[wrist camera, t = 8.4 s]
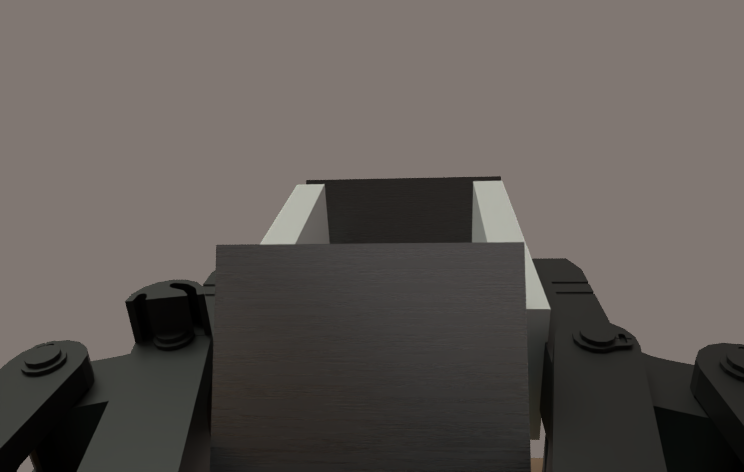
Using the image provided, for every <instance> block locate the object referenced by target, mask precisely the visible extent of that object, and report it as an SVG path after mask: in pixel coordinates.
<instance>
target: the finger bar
mask: <svg viewBox="0 0 744 472" xmlns="http://www.w3.org/2000/svg"><path fill="white" fill-rule="evenodd" d="M473 181H501V177H500V176H499V177H451V178H450V177H449V178H402V179H401V178H400V179H352V180H351V179H350V180H307V181H306V185H308V184H325V195H326V207H327V219H328V230H329V242H330V244H261V245H217V247H216V277H215V311H214V344H213V378H212V412H211V445H210V472H531V457H530V421H529V386H528V351H527V316H526V281H525V245H524V242H480V243H472V213H473Z"/></svg>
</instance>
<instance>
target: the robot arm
mask: <svg viewBox="0 0 744 472" xmlns="http://www.w3.org/2000/svg"><path fill="white" fill-rule="evenodd" d="M480 242H524V245H525V281H526V316H527V351H528V386H529V421H530V440H531V439H532V440H539V438H540V426H541V418H542V422H543V425H544V429H545V433H546V436H545V447H544V458H543V468H542V472H744V345H742V344H728V343H720V344H713V345H708V346H706V347H704V348H703V349H701V350H699V352H698V355H697V357H696V360H695V365H691V364H685V363H680V362H675V361H669V360H665V359H661V358H657V357H653V356H650V355H647V354H645V353H642V352H641V348H640V345H639V343H638V341H637V340H636V338H635V337H634V336H633V335H632V334H630V333H629V332H628V331H626V330H625V329H623V328H621V327H618V326H616V325H614V324H611V323H610V322H609V320H608V318H607V316H606V314H605V313H604V311H603V309H602V307H601V305H600V303H599V301H598V300H597V298H596V296H595V294H593V290H592V288H591V286H590V285H589V284H588V281H587V279H586V277H585V275H584V273H583V271H582V270H581V269H580V268H579V267H577V266H576V265H574V264H573V263H571V262H570V261H569V260H567V259H532V258H531V256H530V253H529V250H528V248H527V245H526V243H525V240H524V237H523V235H522V232H521V229H520V227H519V224H518V222H517V219H516V216H515V214H514V211H513V208H512V205H511V203H510V200H509V198H508V195H507V192H506V190H505V187H504V184H503V182H502V181H473V213H472V243H480ZM261 244H330V242H329V230H328V219H327V207H326V195H325V184H308V185H297V186H296V188H295V189H294V191H293V192H292V194H291V196H290V197H289V199H288V200H287V202H286V204H285V205H284V207H283V208H282V210H281V211H280V213H279V215H278V216H277V218H276V219H275V221H274V223H273V224H272V226H271V227H270V229H269V231H268V232H267V234H266V235H265V237H264V239H263V240H262V242H261V243H260V245H261ZM215 277H216V270H215V271H214V272H212V273H211V275H210V276H209V277H208V279H207V280H206V281H205V283H204V284H203V286H201V285H200V284H199V283H197V282H194V281H189V280H169V281H164V282H158V283H155V284H152V285H149V286H146V287H144V288H142V289H140V290H139V291H137V292H135V293H133V294H132V295H131V296H130V297H129V298H128V299H127V300H126V301H125V303H126V307H127V311H128V314H129V318H130V323H131V327H132V330H133V334H134V338H135V342H136V343H135V345H134V347H133V349H132V351H131V354H127V355H123V356H118V357H113V358H108V359H102V360H97V361H90V358H89V354H88V351H87V348H86V347H85V346H84V345H83V344H81V343H80V342H75V341H70V340H66V341H51V342H47V343H46V344H45V343H43V344H40V345H36V346H35V347H33V348H31V349H29V350H27V351H25V352H22V353H21V354H19V355H18V356H16V357H15V358H13V359H12V360H11V361H9V362H8V363H7V364H6V365H4V366H3V367H2V368H1V369H0V472H17V469H18V468H19V466H20V465H21V463H22V462H23V461H24V460H25V459H26V458H27V457H28V456H30V459H31V462H32V464H33V467H34V470H33V471H32V472H210V445H211V412H212V378H213V344H214V311H215Z"/></svg>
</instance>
